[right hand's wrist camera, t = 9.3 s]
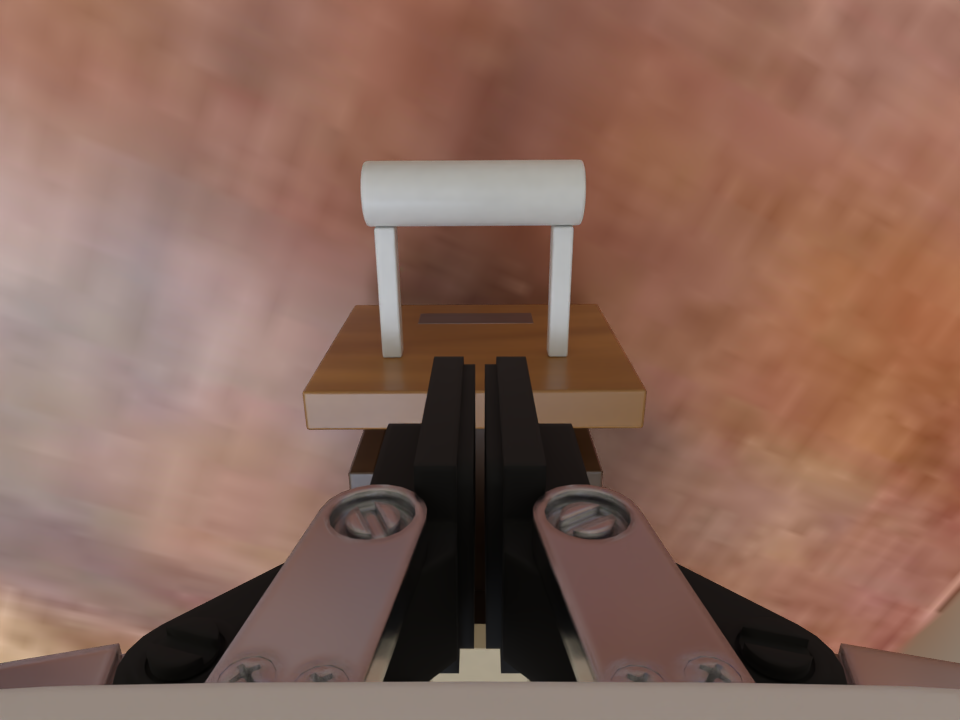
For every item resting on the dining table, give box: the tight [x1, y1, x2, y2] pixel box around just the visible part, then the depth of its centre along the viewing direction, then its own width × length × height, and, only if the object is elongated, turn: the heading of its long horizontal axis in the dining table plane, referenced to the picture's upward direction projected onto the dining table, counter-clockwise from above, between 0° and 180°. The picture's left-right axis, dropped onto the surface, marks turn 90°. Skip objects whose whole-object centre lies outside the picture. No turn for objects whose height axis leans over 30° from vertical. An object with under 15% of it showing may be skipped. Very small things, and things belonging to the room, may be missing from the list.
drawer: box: [303, 160, 646, 624], centre depth 23 cm, size 20×9×8 cm, turn 0°
